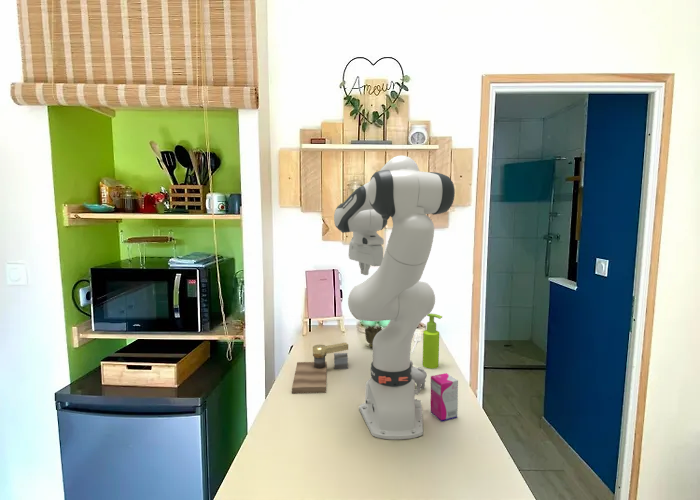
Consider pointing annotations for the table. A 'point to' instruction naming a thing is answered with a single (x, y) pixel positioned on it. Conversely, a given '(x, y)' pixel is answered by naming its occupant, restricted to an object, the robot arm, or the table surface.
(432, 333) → the soap dispenser
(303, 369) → the lock base
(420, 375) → the pig figurine
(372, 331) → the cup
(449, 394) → the supplement box
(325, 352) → the latch lever
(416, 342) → the fork
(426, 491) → the table surface
